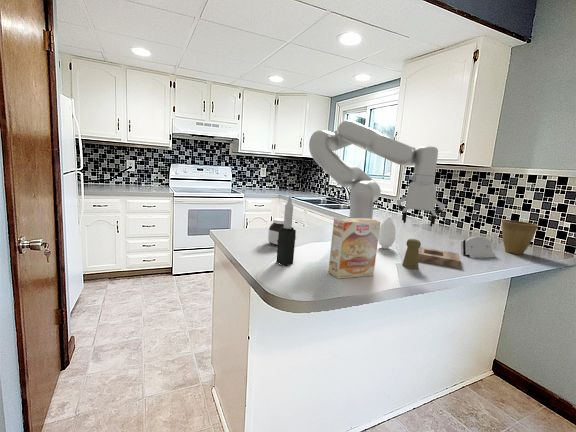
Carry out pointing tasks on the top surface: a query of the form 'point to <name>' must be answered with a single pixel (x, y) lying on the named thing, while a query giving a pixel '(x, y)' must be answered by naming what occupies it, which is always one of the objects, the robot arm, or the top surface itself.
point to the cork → (412, 254)
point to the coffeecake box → (353, 247)
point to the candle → (286, 237)
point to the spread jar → (275, 231)
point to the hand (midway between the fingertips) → (417, 224)
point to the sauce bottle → (387, 233)
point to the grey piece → (477, 247)
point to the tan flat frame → (439, 257)
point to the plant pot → (517, 235)
